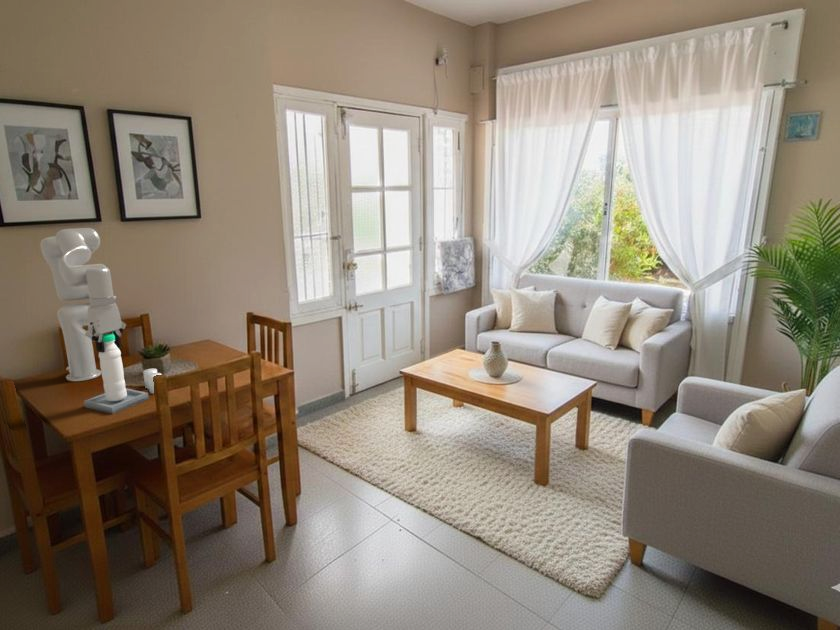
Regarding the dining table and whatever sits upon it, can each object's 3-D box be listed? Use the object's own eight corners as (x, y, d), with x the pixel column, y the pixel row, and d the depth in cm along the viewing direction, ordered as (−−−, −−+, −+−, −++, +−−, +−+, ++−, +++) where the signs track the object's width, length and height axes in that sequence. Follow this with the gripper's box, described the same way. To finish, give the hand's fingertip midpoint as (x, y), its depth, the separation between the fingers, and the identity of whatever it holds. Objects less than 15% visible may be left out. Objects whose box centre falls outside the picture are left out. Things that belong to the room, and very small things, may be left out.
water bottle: (117, 402, 189) (107, 337, 183) (101, 401, 190) (90, 336, 184) (131, 395, 195) (122, 332, 189) (115, 393, 197) (106, 331, 191)
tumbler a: (146, 392, 203) (144, 376, 201) (157, 388, 207) (155, 372, 206) (155, 394, 201) (153, 377, 199) (166, 390, 205) (164, 373, 204)
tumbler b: (142, 387, 208) (140, 371, 206) (153, 383, 212) (150, 367, 210) (151, 389, 206) (149, 373, 204) (161, 385, 210) (159, 369, 209)
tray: (84, 407, 189) (83, 401, 189) (121, 392, 203) (120, 387, 202) (112, 413, 183) (111, 407, 183) (148, 398, 197) (148, 392, 196)
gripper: (116, 296, 193) (123, 341, 197) (71, 305, 177) (79, 354, 182) (131, 297, 190) (137, 344, 194) (85, 307, 175) (93, 357, 179)
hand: (109, 348), depth 188 cm, fingers closed on water bottle, 5 cm apart
